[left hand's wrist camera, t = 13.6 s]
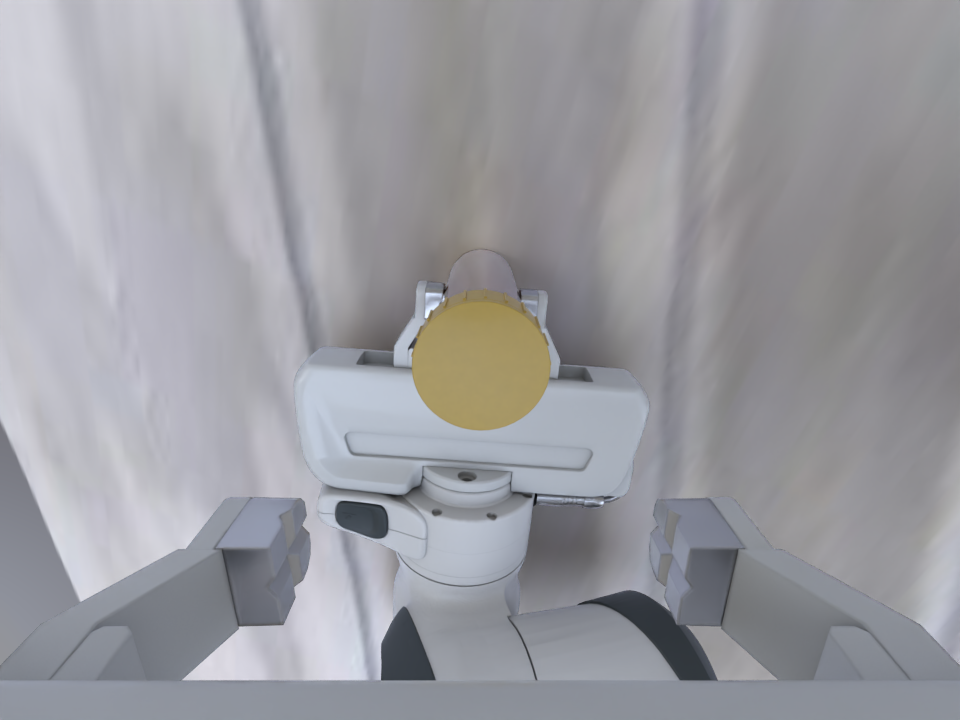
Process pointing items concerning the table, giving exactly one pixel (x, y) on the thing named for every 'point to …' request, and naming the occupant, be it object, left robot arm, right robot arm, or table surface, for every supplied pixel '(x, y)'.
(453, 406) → the lid
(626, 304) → the table surface
